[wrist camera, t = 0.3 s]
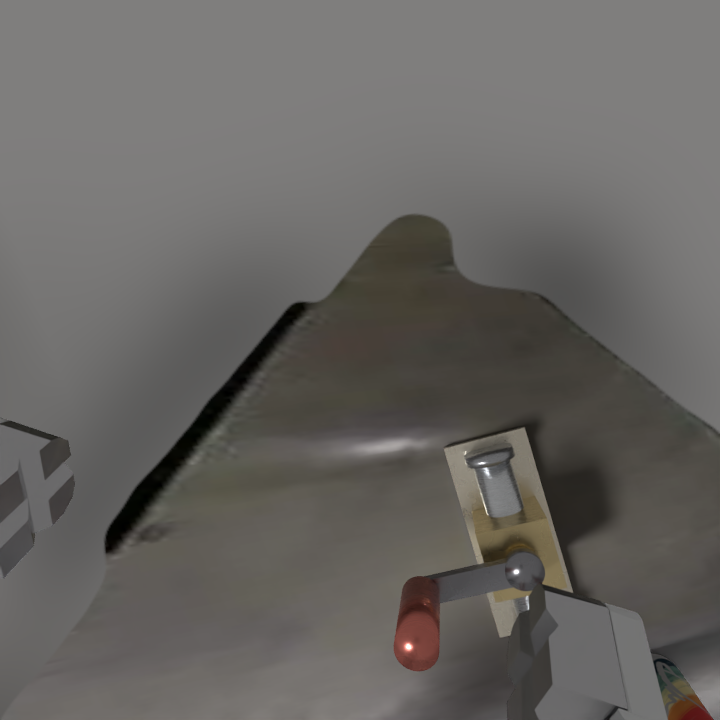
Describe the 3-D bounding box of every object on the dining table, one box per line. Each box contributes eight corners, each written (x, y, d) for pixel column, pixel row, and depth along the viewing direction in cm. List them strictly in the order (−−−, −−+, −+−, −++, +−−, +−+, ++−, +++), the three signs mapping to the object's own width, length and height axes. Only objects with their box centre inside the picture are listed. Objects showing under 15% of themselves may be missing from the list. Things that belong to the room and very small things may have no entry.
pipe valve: (579, 617, 60) (602, 666, 52) (499, 633, 62) (508, 683, 53) (523, 426, 60) (537, 442, 51) (443, 447, 61) (444, 466, 53)
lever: (536, 544, 52) (559, 596, 42) (547, 580, 52) (572, 641, 42) (398, 575, 54) (388, 632, 44) (408, 610, 54) (401, 674, 44)
